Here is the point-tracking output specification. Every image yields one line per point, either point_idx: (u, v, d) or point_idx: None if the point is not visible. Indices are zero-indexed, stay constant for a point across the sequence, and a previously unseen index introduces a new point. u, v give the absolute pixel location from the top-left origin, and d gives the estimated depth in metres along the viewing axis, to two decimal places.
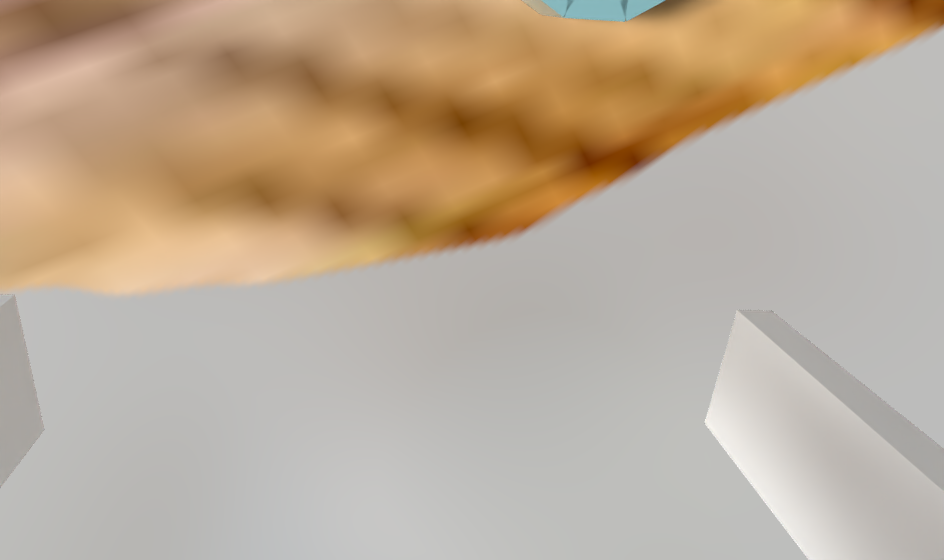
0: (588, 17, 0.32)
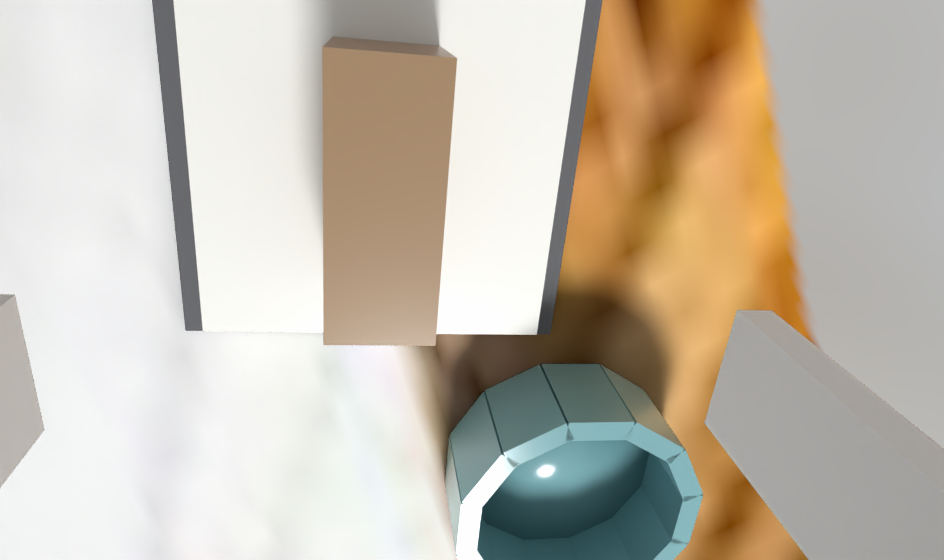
0: (692, 525, 0.32)
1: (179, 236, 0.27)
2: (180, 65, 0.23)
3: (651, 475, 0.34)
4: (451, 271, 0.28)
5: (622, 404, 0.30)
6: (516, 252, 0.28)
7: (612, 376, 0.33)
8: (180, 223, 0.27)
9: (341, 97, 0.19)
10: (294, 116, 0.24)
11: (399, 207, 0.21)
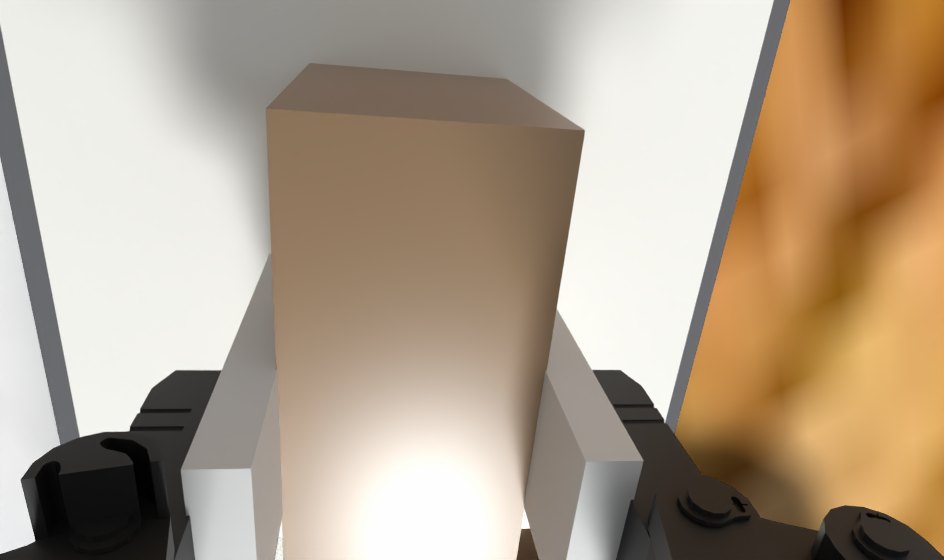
0: None
1: (55, 395, 0.16)
2: (22, 117, 0.12)
3: None
4: None
5: None
6: None
7: None
8: (55, 374, 0.16)
9: (316, 222, 0.08)
10: (242, 206, 0.14)
11: (441, 432, 0.10)
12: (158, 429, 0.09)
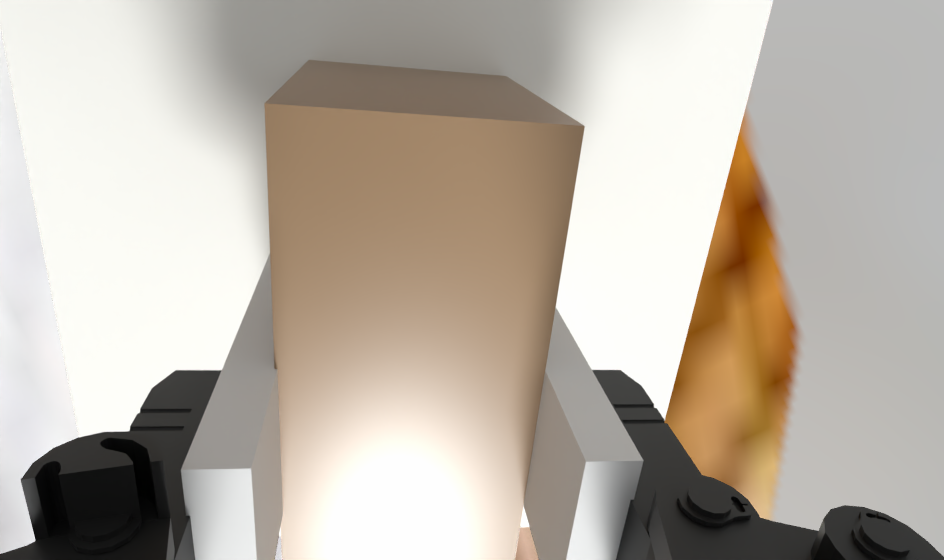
0: None
1: None
2: (19, 113, 0.12)
3: None
4: None
5: None
6: None
7: None
8: None
9: (314, 217, 0.08)
10: (241, 203, 0.14)
11: (440, 429, 0.10)
12: (158, 429, 0.09)
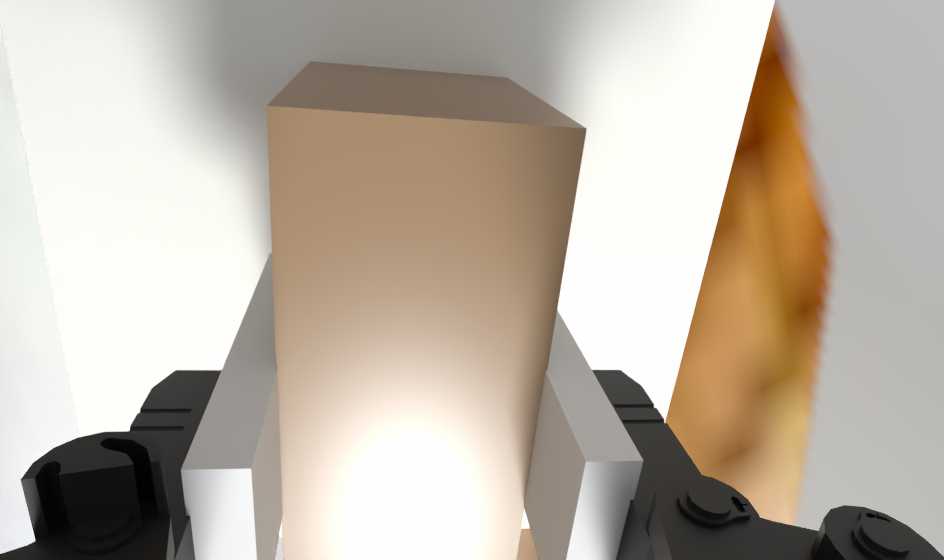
0: None
1: None
2: (21, 114, 0.12)
3: None
4: None
5: None
6: None
7: None
8: None
9: (316, 219, 0.08)
10: (242, 204, 0.14)
11: (441, 430, 0.10)
12: (158, 429, 0.09)
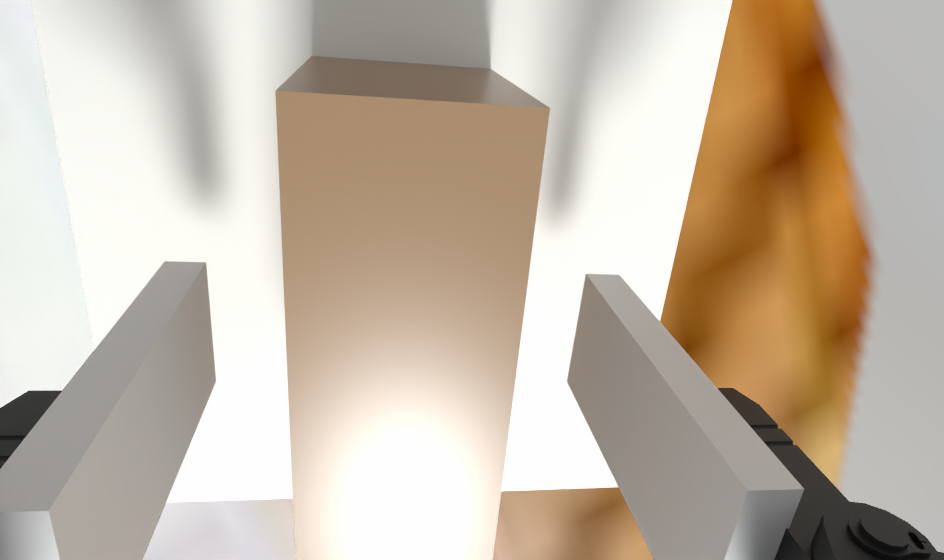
0: None
1: None
2: (52, 107, 0.14)
3: None
4: None
5: None
6: None
7: None
8: None
9: (318, 189, 0.10)
10: (252, 187, 0.15)
11: (431, 378, 0.11)
12: None
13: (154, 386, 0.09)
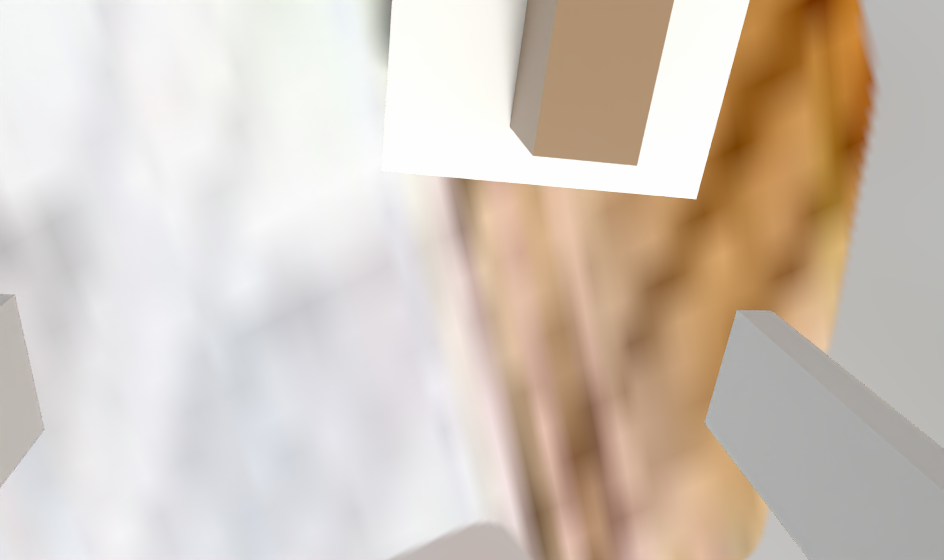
0: None
1: None
2: None
3: None
4: None
5: None
6: (688, 108, 0.29)
7: None
8: None
9: None
10: None
11: (627, 10, 0.21)
12: None
13: None
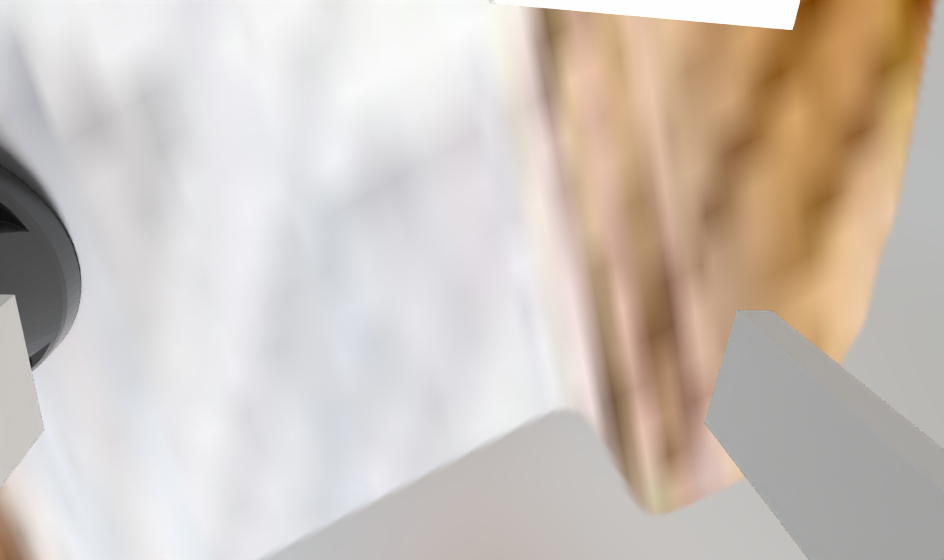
0: None
1: None
2: None
3: None
4: None
5: None
6: None
7: None
8: None
9: None
10: None
11: None
12: None
13: None
